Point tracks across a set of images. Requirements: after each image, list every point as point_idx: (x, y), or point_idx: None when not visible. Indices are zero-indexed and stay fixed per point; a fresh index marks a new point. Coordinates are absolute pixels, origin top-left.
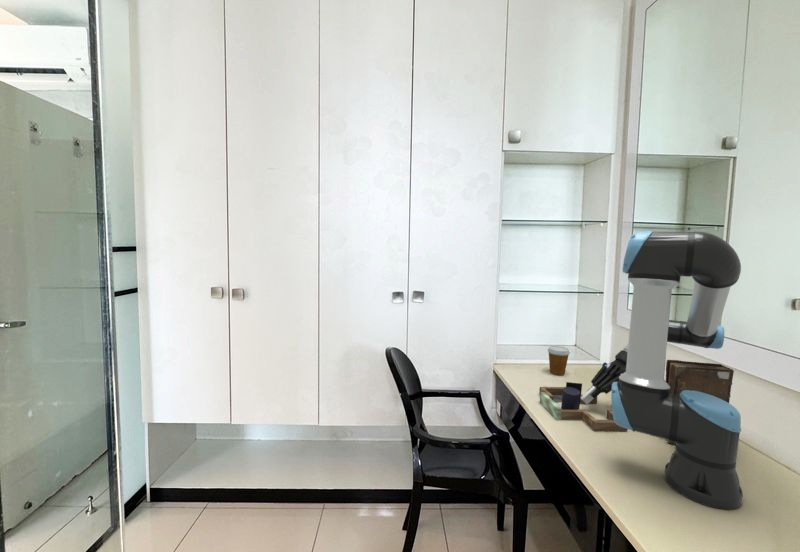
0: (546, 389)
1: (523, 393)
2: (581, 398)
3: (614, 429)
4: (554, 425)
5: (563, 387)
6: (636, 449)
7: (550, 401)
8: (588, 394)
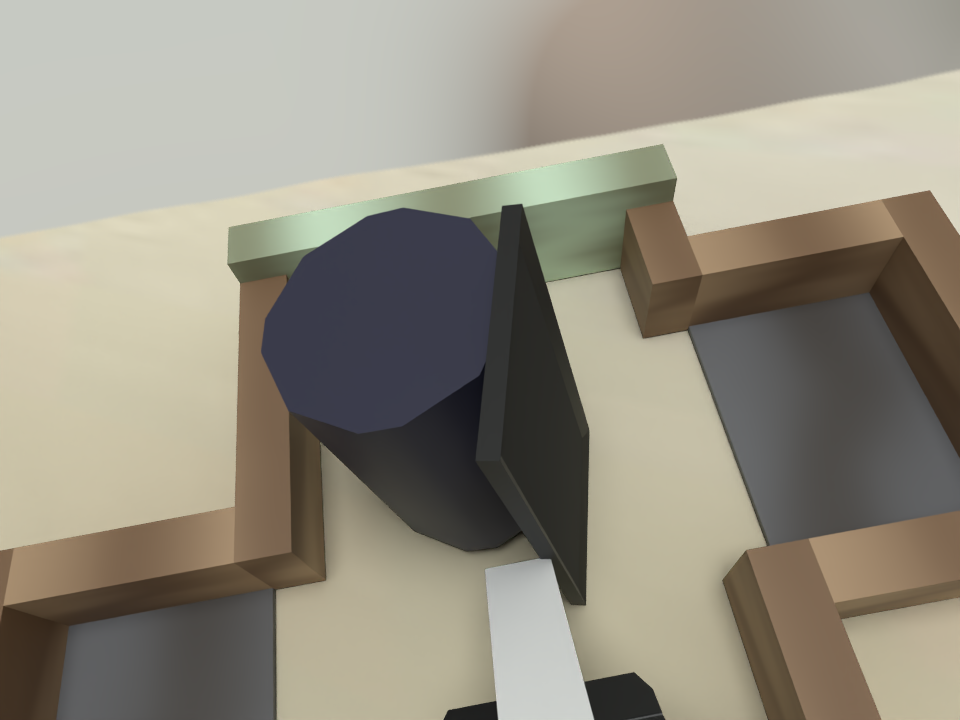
0: (906, 263)
1: (831, 126)
2: (518, 566)
3: None
4: (178, 266)
5: None
6: None
7: (406, 197)
8: (495, 659)
